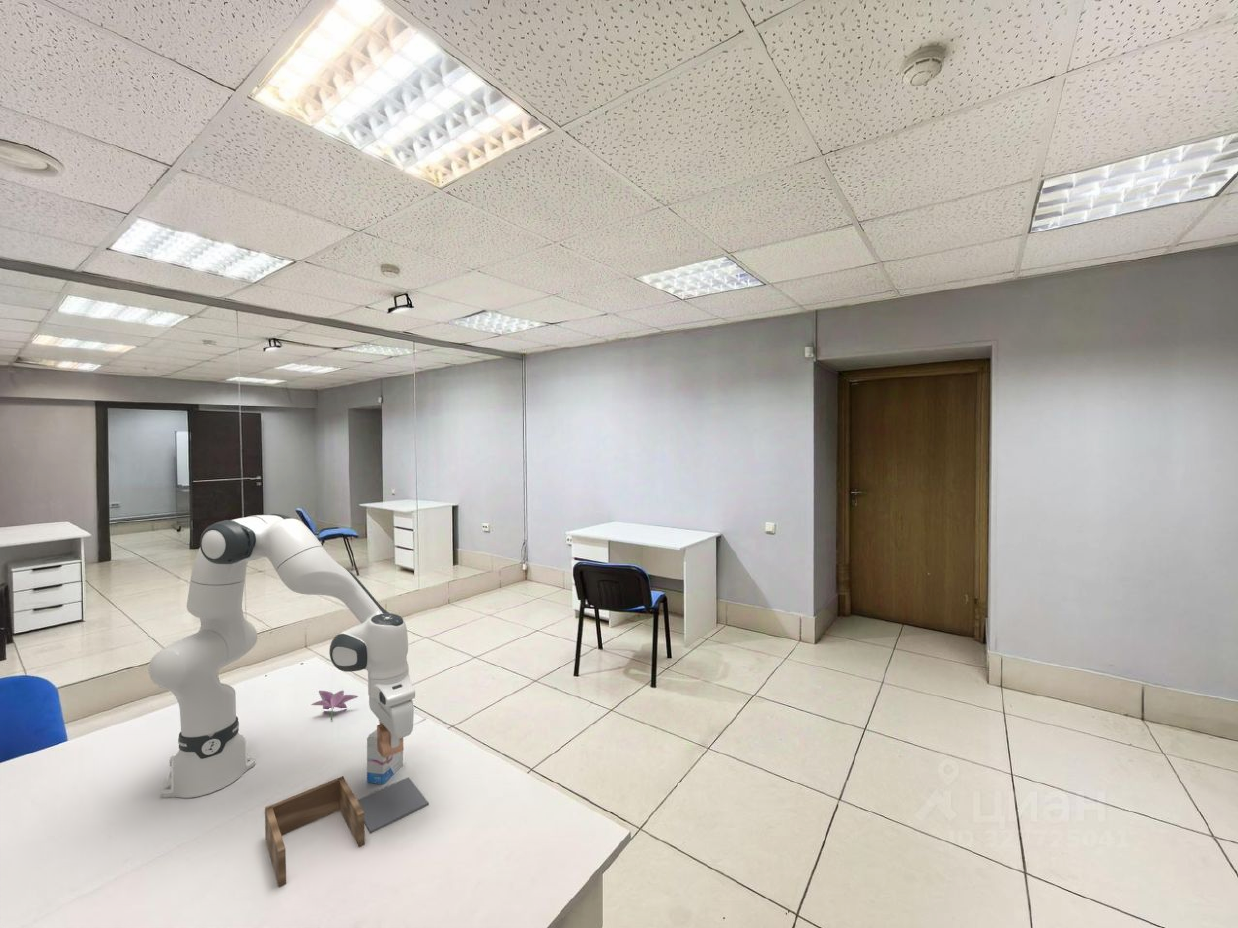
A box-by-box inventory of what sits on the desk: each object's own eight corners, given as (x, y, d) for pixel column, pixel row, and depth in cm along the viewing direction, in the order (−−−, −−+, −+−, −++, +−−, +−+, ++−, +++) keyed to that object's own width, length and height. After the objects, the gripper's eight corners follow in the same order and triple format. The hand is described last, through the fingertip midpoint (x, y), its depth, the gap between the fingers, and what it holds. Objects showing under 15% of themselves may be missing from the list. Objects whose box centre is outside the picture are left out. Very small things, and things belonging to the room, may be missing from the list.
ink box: (383, 785, 125) (382, 739, 125) (366, 782, 126) (365, 737, 126) (404, 764, 134) (403, 721, 134) (388, 762, 135) (387, 719, 135)
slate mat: (353, 803, 119) (353, 801, 119) (408, 778, 128) (408, 776, 128) (370, 833, 109) (370, 831, 109) (428, 804, 118) (428, 802, 118)
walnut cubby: (265, 838, 108) (264, 807, 108) (343, 804, 119) (343, 775, 118) (278, 886, 96) (278, 851, 96) (364, 843, 106) (364, 811, 106)
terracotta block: (377, 749, 118) (376, 725, 118) (396, 742, 122) (396, 718, 121) (383, 758, 115) (383, 732, 115) (403, 750, 118) (402, 725, 118)
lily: (363, 715, 162) (361, 684, 166) (337, 718, 151) (336, 685, 155) (330, 725, 163) (329, 693, 167) (302, 729, 152) (302, 695, 156)
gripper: (361, 673, 123) (362, 728, 124) (389, 703, 109) (390, 765, 109) (388, 666, 128) (389, 719, 128) (418, 693, 113) (419, 753, 113)
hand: (390, 740), depth 118 cm, fingers closed on terracotta block, 4 cm apart
